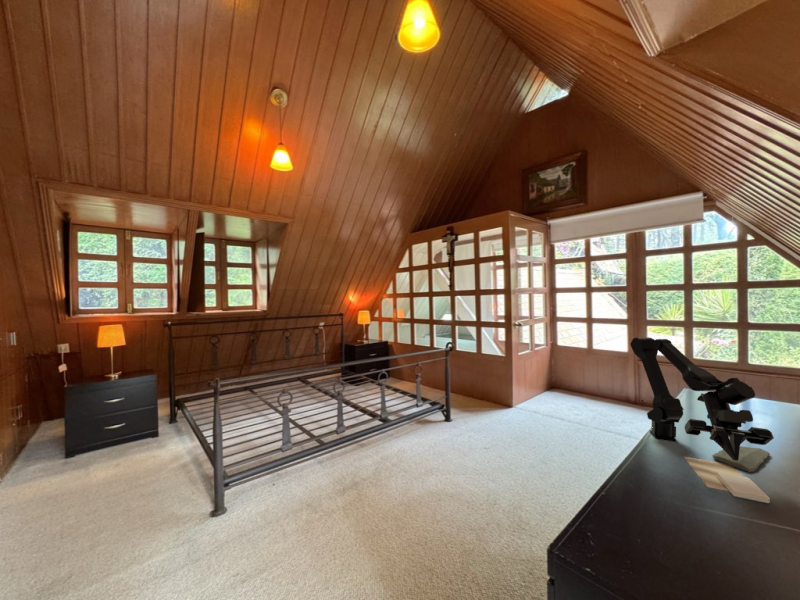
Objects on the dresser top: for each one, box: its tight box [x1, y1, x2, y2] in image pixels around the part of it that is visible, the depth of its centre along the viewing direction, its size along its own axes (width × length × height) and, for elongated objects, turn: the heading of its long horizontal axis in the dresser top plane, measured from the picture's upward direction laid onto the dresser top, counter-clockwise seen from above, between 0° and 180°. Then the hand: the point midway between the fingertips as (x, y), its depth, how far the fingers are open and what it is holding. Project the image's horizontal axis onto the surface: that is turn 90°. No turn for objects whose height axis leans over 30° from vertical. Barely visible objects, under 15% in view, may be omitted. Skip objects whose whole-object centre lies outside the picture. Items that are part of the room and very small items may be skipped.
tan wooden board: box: [683, 456, 745, 492], centre depth 97 cm, size 18×12×1 cm
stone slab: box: [711, 445, 771, 473], centre depth 108 cm, size 22×3×10 cm
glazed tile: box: [716, 472, 771, 504], centre depth 90 cm, size 2×7×10 cm
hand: (735, 460), depth 93 cm, fingers closed
